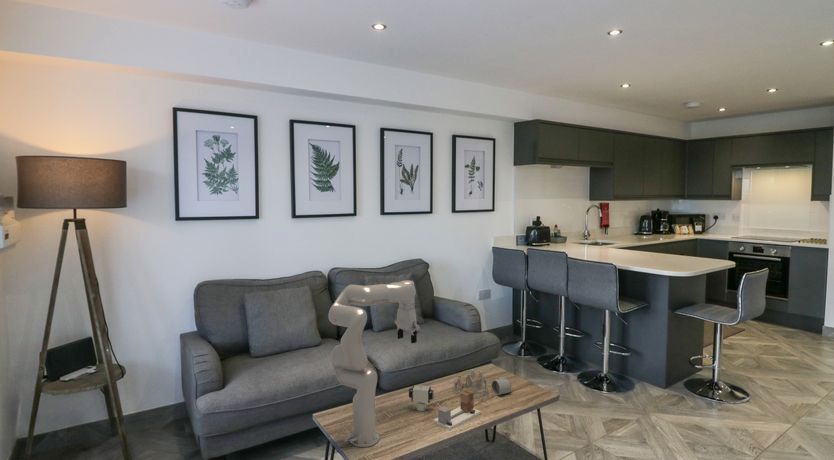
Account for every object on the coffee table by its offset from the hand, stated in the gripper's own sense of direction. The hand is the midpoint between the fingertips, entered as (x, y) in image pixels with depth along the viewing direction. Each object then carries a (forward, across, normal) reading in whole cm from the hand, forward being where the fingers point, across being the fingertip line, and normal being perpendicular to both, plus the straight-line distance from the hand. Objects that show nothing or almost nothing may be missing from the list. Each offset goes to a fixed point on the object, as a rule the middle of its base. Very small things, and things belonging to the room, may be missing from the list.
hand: (407, 340), depth 223 cm
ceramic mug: (+34, +22, +46) cm, 61 cm away
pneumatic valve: (+34, +7, +3) cm, 34 cm away
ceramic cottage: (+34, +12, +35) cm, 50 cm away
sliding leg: (+31, +26, +16) cm, 44 cm away
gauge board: (+33, +25, +9) cm, 43 cm away
